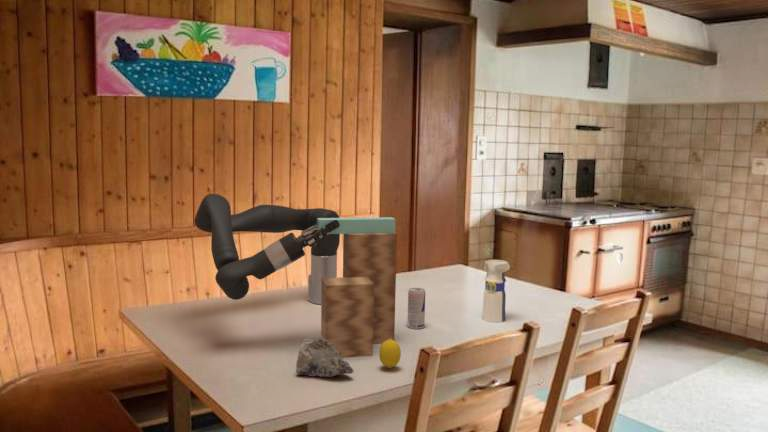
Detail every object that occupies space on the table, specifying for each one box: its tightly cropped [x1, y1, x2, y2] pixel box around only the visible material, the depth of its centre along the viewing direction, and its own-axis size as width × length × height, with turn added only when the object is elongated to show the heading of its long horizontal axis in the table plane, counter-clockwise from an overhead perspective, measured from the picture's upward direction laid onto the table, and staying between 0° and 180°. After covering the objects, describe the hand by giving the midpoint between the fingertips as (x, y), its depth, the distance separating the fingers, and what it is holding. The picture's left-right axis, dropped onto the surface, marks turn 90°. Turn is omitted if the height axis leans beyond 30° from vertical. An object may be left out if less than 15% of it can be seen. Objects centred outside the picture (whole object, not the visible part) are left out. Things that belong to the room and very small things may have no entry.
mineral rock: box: [295, 336, 355, 378], centre depth 163 cm, size 13×11×10 cm
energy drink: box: [406, 287, 426, 330], centre depth 206 cm, size 5×5×12 cm
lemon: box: [378, 339, 402, 370], centre depth 170 cm, size 6×6×8 cm
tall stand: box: [342, 232, 398, 345], centre depth 191 cm, size 14×8×32 cm, turn 103°
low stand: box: [320, 276, 374, 358], centre depth 181 cm, size 13×9×20 cm
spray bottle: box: [481, 245, 511, 323], centre depth 216 cm, size 8×9×25 cm
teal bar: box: [317, 216, 396, 235], centre depth 188 cm, size 22×4×4 cm, turn 103°
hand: (336, 221), depth 186 cm, fingers open, 5 cm apart
